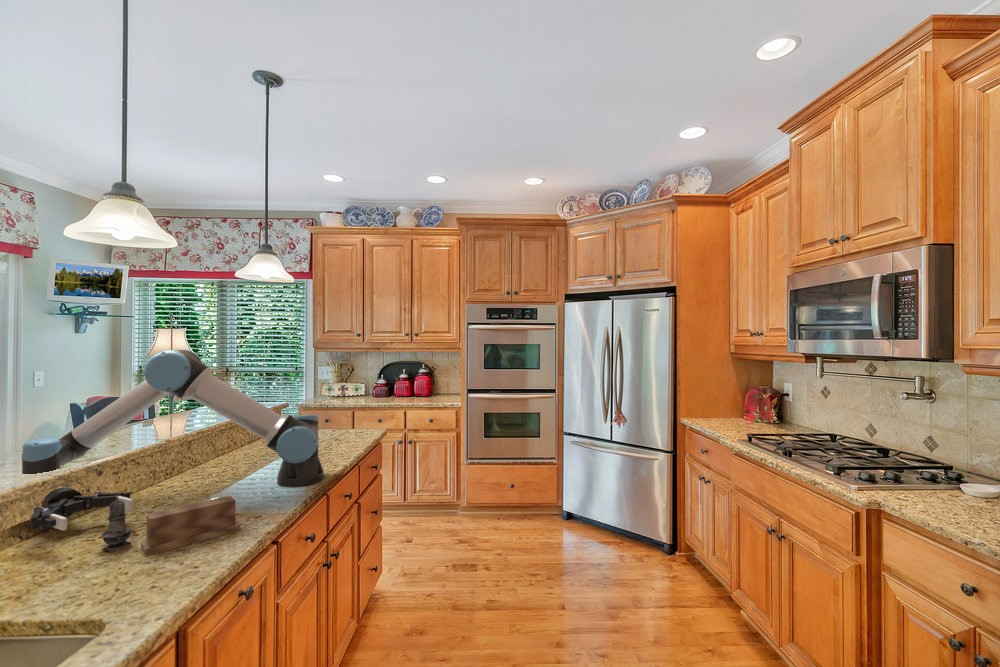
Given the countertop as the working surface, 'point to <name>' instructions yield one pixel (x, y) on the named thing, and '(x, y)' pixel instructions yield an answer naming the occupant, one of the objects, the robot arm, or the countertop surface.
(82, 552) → the countertop surface
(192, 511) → the ridge
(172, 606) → the countertop surface
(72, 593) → the countertop surface
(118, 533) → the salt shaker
